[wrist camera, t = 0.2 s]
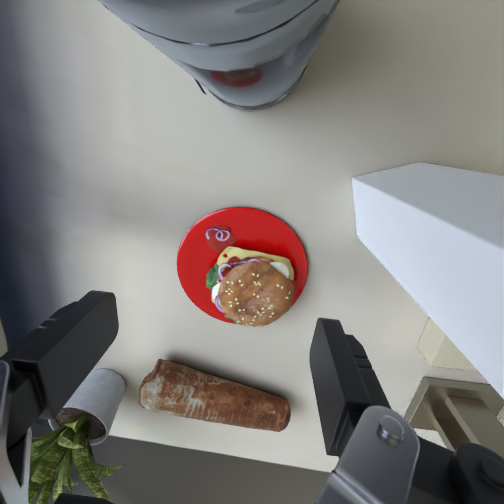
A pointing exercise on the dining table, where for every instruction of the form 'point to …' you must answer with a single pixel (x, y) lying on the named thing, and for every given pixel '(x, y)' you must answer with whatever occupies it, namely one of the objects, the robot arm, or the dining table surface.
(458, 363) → the panel
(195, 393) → the bread
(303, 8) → the robot arm
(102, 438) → the house plant
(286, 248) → the hamburger
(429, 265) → the milk
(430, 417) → the lever bracket
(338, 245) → the dining table surface
